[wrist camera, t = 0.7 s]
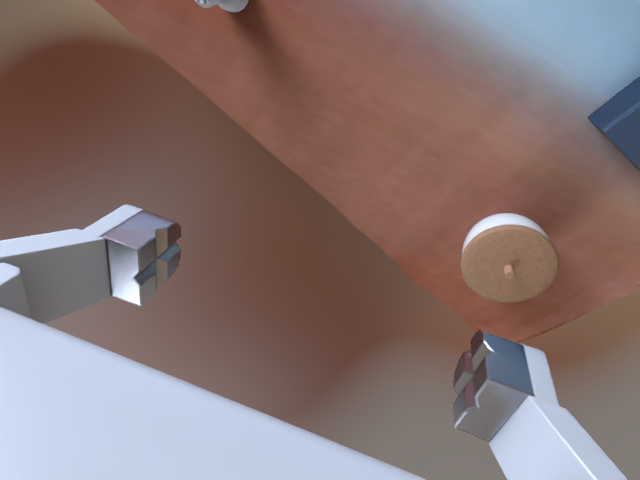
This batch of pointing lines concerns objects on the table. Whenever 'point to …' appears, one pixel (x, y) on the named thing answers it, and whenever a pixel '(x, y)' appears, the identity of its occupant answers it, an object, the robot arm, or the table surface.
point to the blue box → (622, 121)
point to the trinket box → (508, 258)
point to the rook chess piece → (224, 4)
